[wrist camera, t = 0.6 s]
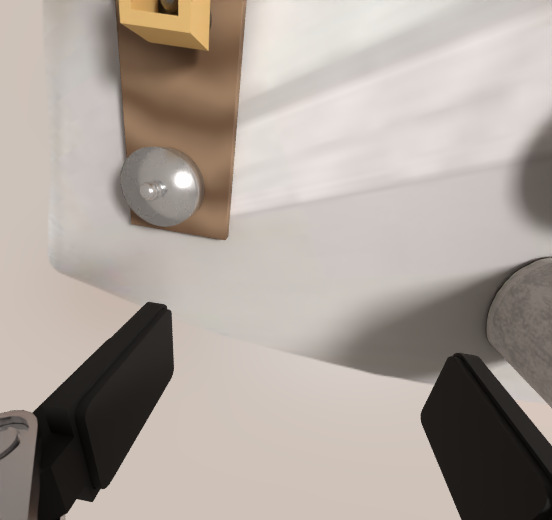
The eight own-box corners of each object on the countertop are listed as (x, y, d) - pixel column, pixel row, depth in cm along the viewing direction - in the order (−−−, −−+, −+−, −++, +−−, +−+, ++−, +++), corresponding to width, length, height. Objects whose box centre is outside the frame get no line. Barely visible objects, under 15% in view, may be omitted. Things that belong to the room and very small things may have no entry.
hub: (133, 141, 32) (99, 140, 27) (206, 153, 32) (186, 154, 27) (138, 214, 36) (108, 226, 30) (203, 225, 35) (185, 239, 30)
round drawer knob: (162, -20, 26) (137, -49, 22) (212, -13, 26) (196, -41, 22) (163, 43, 28) (140, 27, 24) (210, 50, 28) (194, 34, 24)
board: (119, -65, 26) (109, -77, 25) (250, -48, 26) (247, -59, 24) (137, 221, 38) (131, 223, 36) (228, 236, 37) (225, 240, 36)
